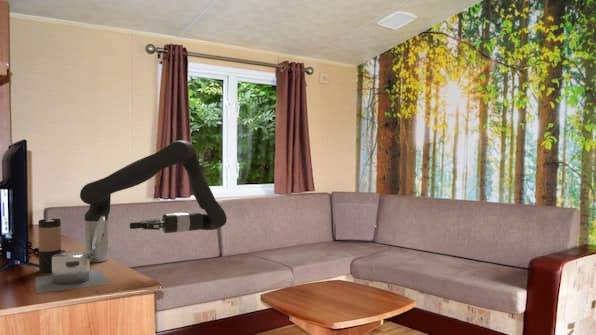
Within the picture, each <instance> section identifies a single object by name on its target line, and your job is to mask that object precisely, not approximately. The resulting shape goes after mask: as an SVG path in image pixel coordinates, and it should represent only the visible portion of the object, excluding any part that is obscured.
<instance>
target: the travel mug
mask: <svg viewBox="0 0 596 335" xmlns="http://www.w3.org/2000/svg"><path fill="white" fill-rule="evenodd" d="M61 222H62V220H61V219H60V218H52V219H50V220H48V219H45V218H44V219H39V220H38V268H39V270H38V271H39V273H41V274H52V256H53V255H56V254H60V253H62V231H61V230H62V229H61V228H62V224H61Z"/></svg>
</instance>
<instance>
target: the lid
mask: <svg viewBox="0 0 596 335" xmlns="http://www.w3.org/2000/svg"><path fill="white" fill-rule="evenodd" d="M104 227H105V216H101V217H100V219H99V221H98V224H97V227H96V230H95V234H94V238H93V243H92V250H90V253H91V255H94V254H95V253H94V252H96V251H97V250H98V247H99V245H100V242H101V239H102V237H103V236H104V233H103V232H104Z"/></svg>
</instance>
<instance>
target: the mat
mask: <svg viewBox="0 0 596 335" xmlns="http://www.w3.org/2000/svg"><path fill="white" fill-rule="evenodd" d="M34 279H35V280H34V281H35V294H38V293H48V292H56V291H65V290H73V289H81V288H89V287H96V286H106V285H107V286H108V285H109V282H108V281H107V278H106V277H105V275H104V274H103V272H102V270H101V269H98V270H90V279H89V280H88V281H86V282H83V283H80V284H74V285H55V284H53V283H52V274H50V275H44V276H36V277H35V278H34Z"/></svg>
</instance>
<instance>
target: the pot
mask: <svg viewBox="0 0 596 335" xmlns="http://www.w3.org/2000/svg"><path fill="white" fill-rule="evenodd" d="M90 259H93V255H91V254H89V253H87V252H85V251H69V252H61V253H60V254H56V255H53V256H52V273H51V275H52V283H53V284H55V285H74V284H80V283H83V282H86V281H88V280H89V279H90V271H91V270H90V263H91V262H90Z"/></svg>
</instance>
